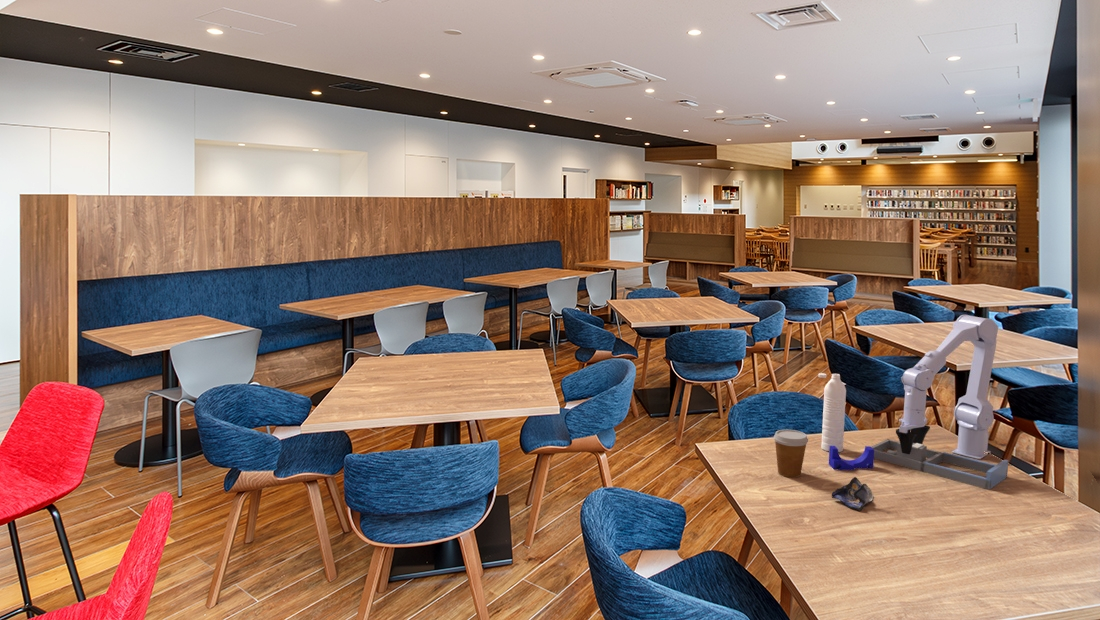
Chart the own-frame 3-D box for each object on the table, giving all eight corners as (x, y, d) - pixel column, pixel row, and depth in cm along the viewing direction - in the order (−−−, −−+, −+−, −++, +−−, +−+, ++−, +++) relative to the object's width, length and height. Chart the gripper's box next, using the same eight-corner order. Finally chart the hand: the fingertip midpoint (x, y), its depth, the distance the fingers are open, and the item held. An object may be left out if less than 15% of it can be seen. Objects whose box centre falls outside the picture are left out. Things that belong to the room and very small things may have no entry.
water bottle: (838, 445, 221) (842, 371, 217) (846, 452, 214) (850, 376, 211) (811, 445, 221) (814, 371, 217) (818, 452, 215) (822, 376, 211)
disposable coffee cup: (767, 468, 202) (768, 429, 200) (797, 466, 203) (799, 428, 201) (780, 480, 193) (782, 440, 191) (812, 479, 193) (814, 439, 192)
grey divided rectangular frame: (887, 446, 220) (888, 431, 219) (1007, 477, 194) (1008, 460, 193) (866, 456, 211) (867, 441, 210) (989, 489, 185) (990, 472, 184)
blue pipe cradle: (833, 470, 200) (834, 450, 200) (828, 464, 205) (829, 445, 204) (875, 471, 199) (876, 451, 199) (869, 465, 204) (870, 446, 203)
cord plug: (890, 452, 214) (891, 436, 213) (925, 461, 206) (927, 445, 205) (884, 455, 212) (885, 439, 211) (920, 465, 203) (921, 448, 203)
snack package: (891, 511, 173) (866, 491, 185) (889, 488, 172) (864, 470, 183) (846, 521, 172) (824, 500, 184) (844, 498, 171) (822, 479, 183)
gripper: (911, 400, 213) (908, 442, 215) (890, 409, 204) (887, 452, 205) (935, 405, 207) (931, 448, 209) (914, 414, 198) (911, 458, 200)
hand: (911, 450), depth 207 cm, fingers open, 7 cm apart
